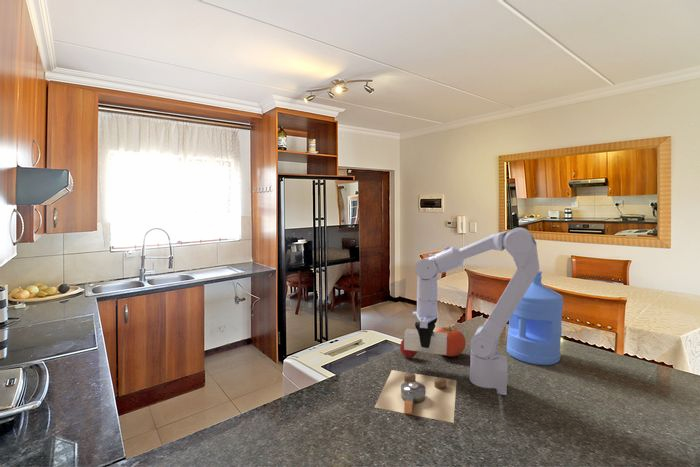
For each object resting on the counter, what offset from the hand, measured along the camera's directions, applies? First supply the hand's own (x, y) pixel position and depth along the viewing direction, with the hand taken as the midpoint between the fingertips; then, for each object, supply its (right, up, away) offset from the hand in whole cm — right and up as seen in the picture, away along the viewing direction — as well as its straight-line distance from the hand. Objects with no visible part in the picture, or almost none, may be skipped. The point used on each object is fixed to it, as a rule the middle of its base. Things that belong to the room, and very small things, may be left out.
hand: (426, 344), depth 103 cm
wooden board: (-5, -9, -14) cm, 17 cm away
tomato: (+10, -8, +12) cm, 17 cm away
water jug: (+38, -8, +12) cm, 40 cm away
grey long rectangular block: (0, -2, 0) cm, 2 cm away
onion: (-3, -8, +9) cm, 13 cm away
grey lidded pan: (-7, -8, -18) cm, 21 cm away
